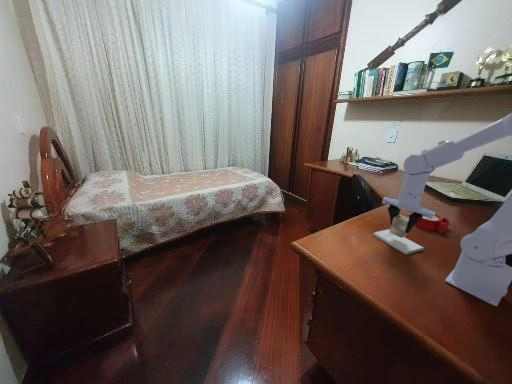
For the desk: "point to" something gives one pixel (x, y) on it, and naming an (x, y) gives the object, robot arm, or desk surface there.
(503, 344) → the desk surface
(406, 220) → the birch block
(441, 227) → the alarm clock
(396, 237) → the external hard drive
